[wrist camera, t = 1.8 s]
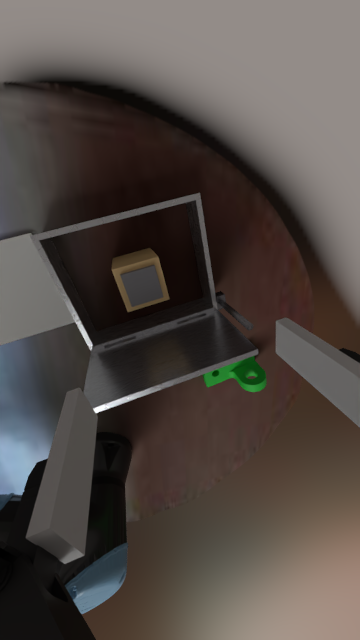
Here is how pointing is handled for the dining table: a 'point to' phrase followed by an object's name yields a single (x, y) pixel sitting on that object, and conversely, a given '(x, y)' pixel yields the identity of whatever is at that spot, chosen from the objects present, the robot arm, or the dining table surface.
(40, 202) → the dining table surface
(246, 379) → the mechanical part
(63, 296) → the case
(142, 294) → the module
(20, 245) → the pad
